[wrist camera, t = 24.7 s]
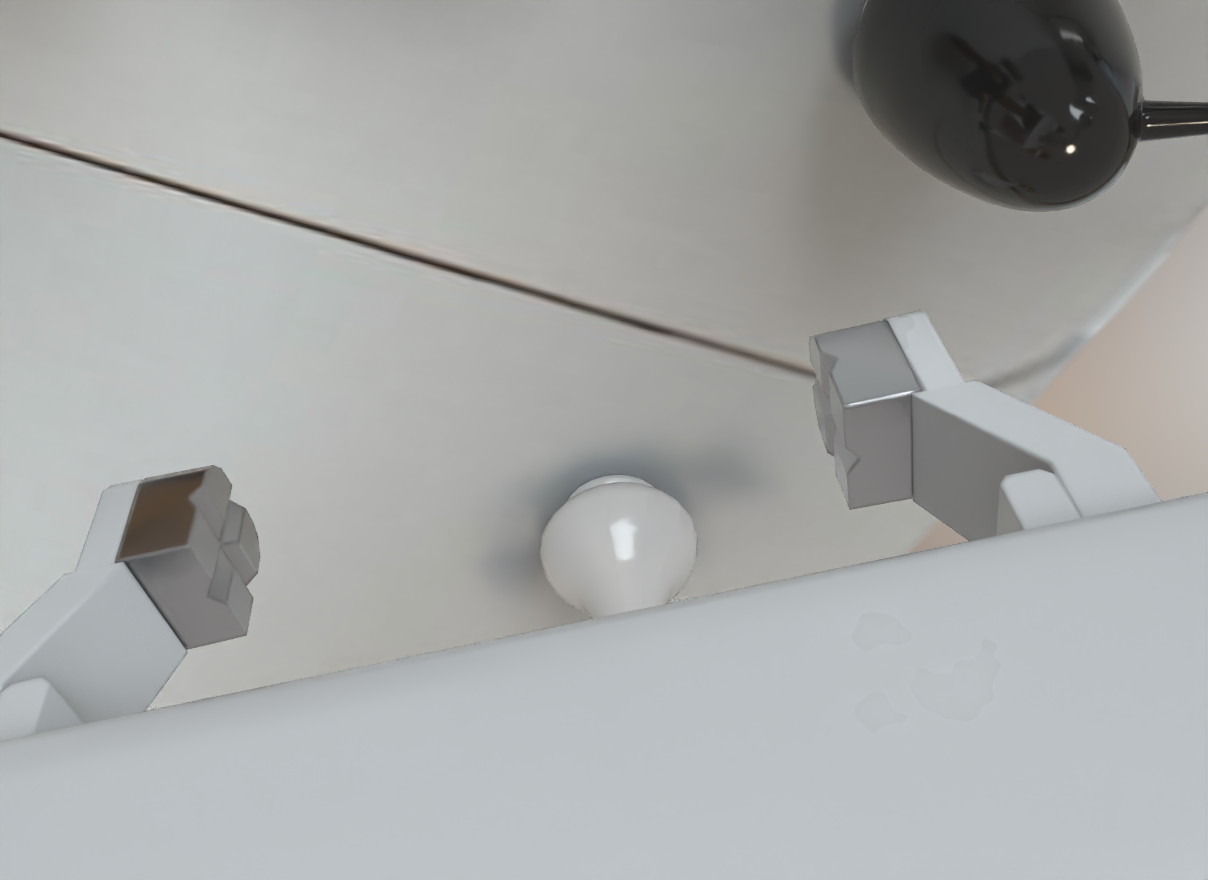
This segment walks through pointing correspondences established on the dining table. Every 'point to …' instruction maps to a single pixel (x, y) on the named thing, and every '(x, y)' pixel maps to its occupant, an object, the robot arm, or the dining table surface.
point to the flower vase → (618, 547)
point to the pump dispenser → (1012, 95)
